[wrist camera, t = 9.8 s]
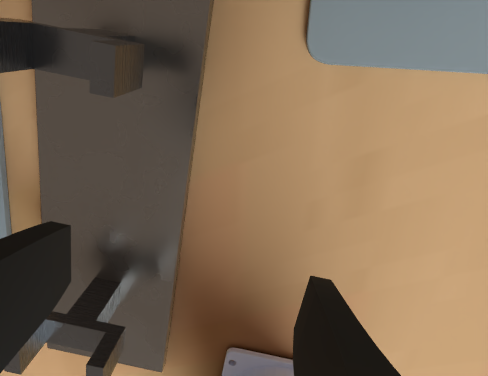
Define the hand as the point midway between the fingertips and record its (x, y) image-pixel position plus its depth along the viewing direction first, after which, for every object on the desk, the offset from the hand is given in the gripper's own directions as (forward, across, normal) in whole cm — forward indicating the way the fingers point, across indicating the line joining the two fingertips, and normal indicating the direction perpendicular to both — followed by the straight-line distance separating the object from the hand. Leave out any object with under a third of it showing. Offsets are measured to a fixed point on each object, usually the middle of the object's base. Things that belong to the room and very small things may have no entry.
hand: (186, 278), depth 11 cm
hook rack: (+9, +6, +2) cm, 11 cm away
